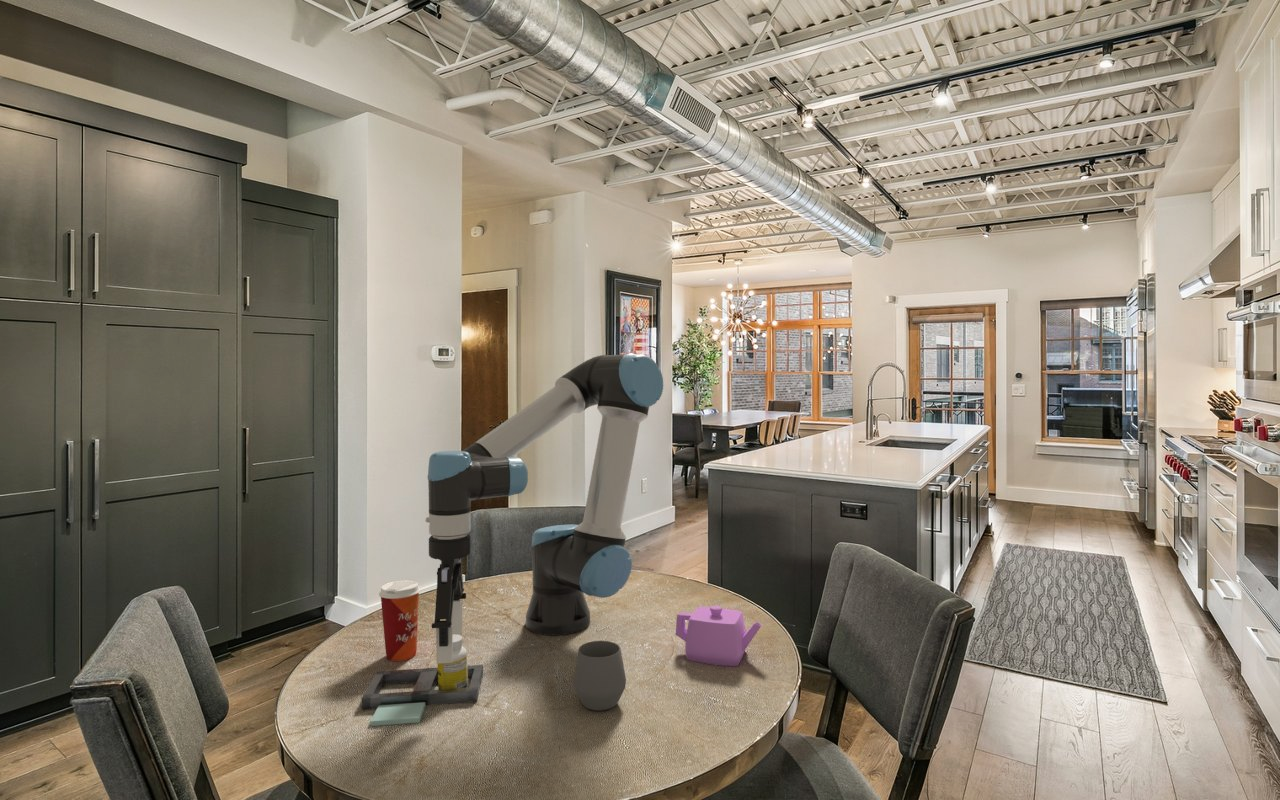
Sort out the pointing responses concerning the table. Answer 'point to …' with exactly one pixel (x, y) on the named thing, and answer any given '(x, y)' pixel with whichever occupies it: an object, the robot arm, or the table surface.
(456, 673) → the supplement bottle
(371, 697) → the grey rectangular frame
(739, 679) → the table surface
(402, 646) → the coffee cup
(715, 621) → the teapot
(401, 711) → the mat
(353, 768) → the table surface
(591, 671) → the cup
